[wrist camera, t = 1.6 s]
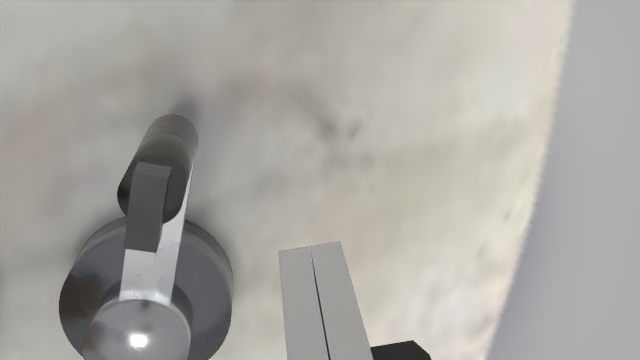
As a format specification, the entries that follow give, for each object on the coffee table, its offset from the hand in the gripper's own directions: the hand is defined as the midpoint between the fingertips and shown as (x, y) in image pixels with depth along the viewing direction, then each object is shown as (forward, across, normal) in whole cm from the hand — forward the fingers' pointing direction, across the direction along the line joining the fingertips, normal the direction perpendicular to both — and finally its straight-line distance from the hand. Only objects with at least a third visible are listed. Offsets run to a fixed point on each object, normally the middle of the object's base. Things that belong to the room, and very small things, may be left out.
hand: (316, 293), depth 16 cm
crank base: (+18, -9, -9) cm, 22 cm away
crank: (+15, -7, -5) cm, 18 cm away
